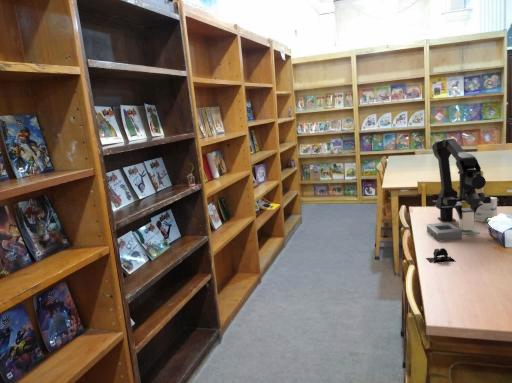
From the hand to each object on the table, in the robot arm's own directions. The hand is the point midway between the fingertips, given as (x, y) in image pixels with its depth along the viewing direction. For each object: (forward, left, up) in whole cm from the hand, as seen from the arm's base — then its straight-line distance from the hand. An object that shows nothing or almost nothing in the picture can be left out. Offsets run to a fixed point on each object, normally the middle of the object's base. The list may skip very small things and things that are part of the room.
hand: (466, 218), depth 181 cm
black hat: (+31, -23, -7) cm, 39 cm away
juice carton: (-26, +14, -6) cm, 30 cm away
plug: (0, 0, -4) cm, 5 cm away
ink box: (-14, +15, -6) cm, 21 cm away
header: (+3, -11, -6) cm, 13 cm away
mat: (0, 0, -6) cm, 6 cm away
